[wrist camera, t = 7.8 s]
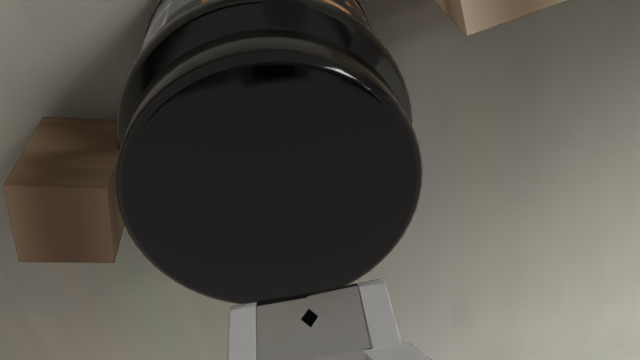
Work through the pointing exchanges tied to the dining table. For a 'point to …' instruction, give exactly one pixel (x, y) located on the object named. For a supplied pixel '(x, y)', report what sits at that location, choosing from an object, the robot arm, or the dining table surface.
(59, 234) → the walnut block
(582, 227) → the dining table surface
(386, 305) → the robot arm
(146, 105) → the supplement container
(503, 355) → the dining table surface
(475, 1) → the beech block
